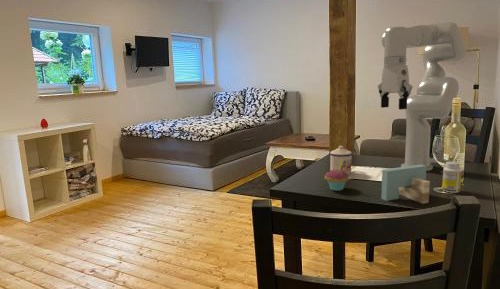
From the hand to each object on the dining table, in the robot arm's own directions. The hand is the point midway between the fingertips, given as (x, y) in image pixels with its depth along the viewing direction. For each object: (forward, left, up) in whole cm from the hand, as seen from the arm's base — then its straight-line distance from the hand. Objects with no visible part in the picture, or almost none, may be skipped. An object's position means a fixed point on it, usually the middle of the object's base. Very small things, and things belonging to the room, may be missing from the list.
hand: (393, 108), depth 140 cm
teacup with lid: (+10, -18, -28) cm, 35 cm away
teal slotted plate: (+10, +18, -28) cm, 35 cm away
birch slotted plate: (+8, +18, -28) cm, 34 cm away
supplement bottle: (-9, +20, -28) cm, 36 cm away
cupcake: (+25, +1, -28) cm, 38 cm away
